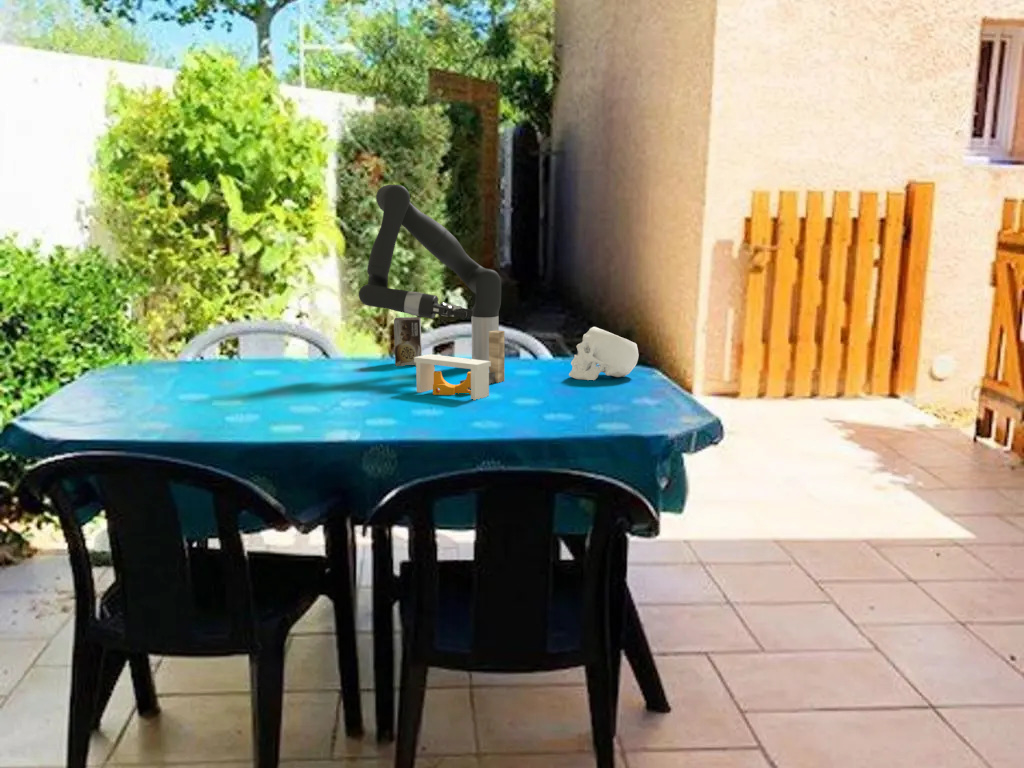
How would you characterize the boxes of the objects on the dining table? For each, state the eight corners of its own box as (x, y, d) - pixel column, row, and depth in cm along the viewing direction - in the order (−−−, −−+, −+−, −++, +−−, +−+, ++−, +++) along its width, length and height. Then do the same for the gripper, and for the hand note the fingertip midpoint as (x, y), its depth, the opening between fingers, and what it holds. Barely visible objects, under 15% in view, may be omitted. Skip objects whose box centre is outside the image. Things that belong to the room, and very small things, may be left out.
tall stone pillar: (495, 380, 325) (495, 330, 322) (504, 381, 323) (504, 331, 320) (457, 390, 308) (456, 338, 305) (466, 392, 306) (466, 339, 303)
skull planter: (559, 368, 334) (586, 316, 332) (611, 394, 338) (638, 344, 336) (566, 376, 321) (594, 322, 319) (620, 403, 325) (649, 351, 323)
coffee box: (422, 362, 356) (421, 316, 353) (421, 365, 350) (420, 319, 347) (396, 362, 356) (395, 316, 353) (394, 366, 350) (393, 319, 347)
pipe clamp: (432, 395, 303) (432, 373, 301) (435, 392, 307) (434, 371, 306) (473, 395, 302) (472, 374, 300) (474, 392, 306) (474, 371, 305)
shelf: (429, 387, 312) (428, 354, 310) (491, 396, 300) (490, 361, 298) (414, 391, 306) (414, 357, 304) (477, 400, 294) (477, 364, 292)
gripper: (416, 293, 318) (466, 303, 315) (429, 292, 332) (476, 301, 329) (412, 317, 319) (462, 327, 317) (425, 315, 333) (472, 324, 330)
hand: (469, 314), depth 323 cm, fingers open, 8 cm apart
